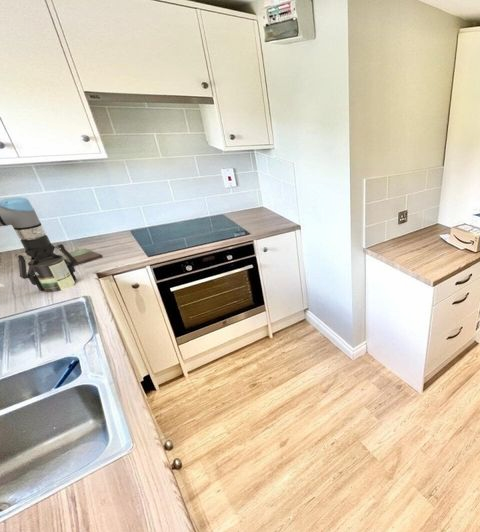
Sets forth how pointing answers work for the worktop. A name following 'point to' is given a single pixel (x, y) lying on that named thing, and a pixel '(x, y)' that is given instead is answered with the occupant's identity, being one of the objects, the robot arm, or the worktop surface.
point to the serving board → (83, 256)
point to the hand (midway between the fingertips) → (58, 284)
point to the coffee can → (53, 274)
